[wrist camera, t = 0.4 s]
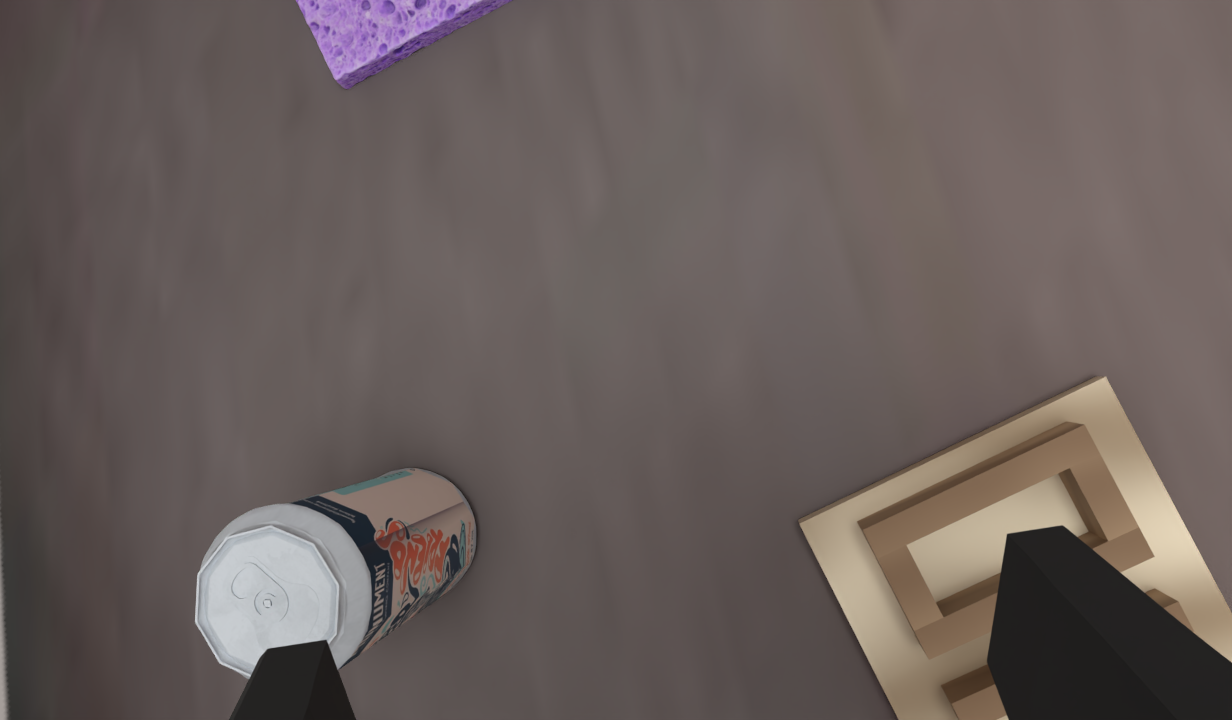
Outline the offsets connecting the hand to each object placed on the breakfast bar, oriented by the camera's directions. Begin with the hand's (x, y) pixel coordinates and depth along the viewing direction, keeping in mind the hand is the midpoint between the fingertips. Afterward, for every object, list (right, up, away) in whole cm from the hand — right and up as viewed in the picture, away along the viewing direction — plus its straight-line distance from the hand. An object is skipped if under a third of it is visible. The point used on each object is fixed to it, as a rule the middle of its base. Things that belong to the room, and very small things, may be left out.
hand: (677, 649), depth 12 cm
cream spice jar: (-8, -3, +28) cm, 29 cm away
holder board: (+14, -7, +25) cm, 29 cm away
